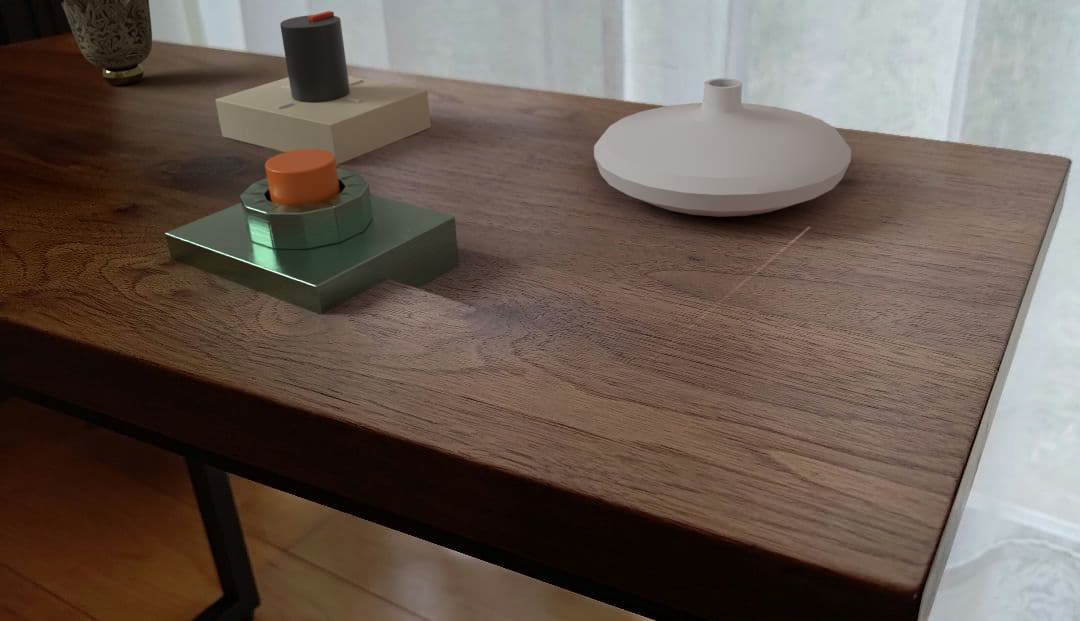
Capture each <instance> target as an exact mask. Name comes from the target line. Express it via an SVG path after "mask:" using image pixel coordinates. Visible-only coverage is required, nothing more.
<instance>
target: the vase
mask: <svg viewBox="0 0 1080 621" xmlns="http://www.w3.org/2000/svg"><path fill="white" fill-rule="evenodd" d="M742 84H743V82H741V81H740V80H738V79H734V78H728V77H727V78H724V77H722V78H721V77H719V78H711V79H708V80H706V81H705V82H704V84H703V96H702V99H703V100H702V102H693V103H692V102H691V103H684V104H683V103H682V104H675V105H674V104H673V105H665V106H660V107H656V108H651V109H646V110H642V111H638V112H636V113H633V114H630V115H628V116H625V117H622V118H621V119H619V120H617V121H616V122H614V123H612V124H611V125H609V126H608V128H607V129H606V130H605V131H604V133H602V135H601V136H600V138H599V139H598V140H597V142H596V143H595V144H594V145H593V157H594V160H595V163H596V166H597V169H598V171H599V174H600V176H601V177H602V178H603V179H604V180H605V181H606V183H607V184H608V185H609V186H610V187H612V188H614V189H615V190H618V191H619V192H621V193H623V194H625V195H627V196H629V197H631V198H634V199H637V200H640V201H642V202H644V203H647V204H649V205H653V206H654V207H658V208H661V209H665V210H668V211H671V212H676V213H681V214H686V215H692V216H702V217H703V216H704V217H717V218H720V217H721V218H722V217H746V216H747V217H748V216H753V215H760V214H762V215H763V214H767V213H771V212H775V211H779V210H782V209H786V208H789V207H791V206H792V207H793V206H795V205H798V204H801V203H804V202H808V201H811V200H814V199H816V198H818V197H819V196H822V195H824V194H826V193H827V192H830V191H831V190H833V189H834V188H835V187H836V186H837V185H838V184H839V183H840V182H841V181H842V179H843V178H844V176H845V174H846V173H847V170H848V168H849V166H850V164H851V160H852V149H851V147H850V146H849V145H848V143H847V142H846V140H845V139H844V138H843V137H842V135H841V134H840V133H839V131H838V130H837V129H836V127H834V126H833V125H831V124H830V123H828V122H826V121H824V120H822V119H821V118H819V117H815V116H812V115H809V114H807V113H803V112H801V111H796V110H792V109H787V108H782V107H777V106H771V105H762V104H755V103H743V102H742V86H743V85H742Z"/></svg>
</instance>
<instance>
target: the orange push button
mask: <svg viewBox="0 0 1080 621" xmlns="http://www.w3.org/2000/svg"><path fill="white" fill-rule="evenodd" d="M264 168H265V174H266V178H267V180H268V186H269V191H270V197H271V201H272V202H274V203H278V204H281V205H303V204H308V203H314V202H319V201H324V200H326V199H328V198H331V197H333V196H335V195H338V194H339V193H340V188H339V181H338V174H337V169H338V168H337V165H336V161H335V156H334V155H333V154H332V153H331V152H328V151H324V150H317V149H303V150H295V151H289V152H283V153H282V152H281V153H279V154H276V155H274V156H272V157H270V158H268V159H267V160H266V162H265V163H264Z"/></svg>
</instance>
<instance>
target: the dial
mask: <svg viewBox="0 0 1080 621" xmlns="http://www.w3.org/2000/svg"><path fill="white" fill-rule="evenodd" d="M279 25H280V26H279V27H280V31H281V32H280V33H281V37H282V44H283V50H284V57H285V63H286V69H287V75H288V76H287V77H289V82H290V89H291V95H292V98H293V99H295V100H298V101H303V102H321V101H329V100H334V99H338V98H341V97H344V96H346V95H347V94H349V92H350V88H349V81H348V76H349V74H348V67H347V66H348V65H347V58H346V51H345V44H344V36H343V29H342V21H341V18H340V17H339V16H336V15H335V12H334V11H331V10H328V11H324V12H319V13H316V14H310V15H301V16H295V17H291V18H287V19H284V20H282V21H281V22H280V24H279Z"/></svg>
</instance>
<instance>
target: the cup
mask: <svg viewBox="0 0 1080 621" xmlns="http://www.w3.org/2000/svg"><path fill="white" fill-rule="evenodd" d="M61 6H62V9H63V10H64V13H65V16H66V19H67V20H68V24H69V26H70V29H71V32H72V35H73V37H74V39H75V42H76V44H77V46H78V48H79V50H80V52H81V54H82V55H83V57H84V58H85V59H86V60H87V61H88V62H89V63H90V64H92V65H93V66H95V67H97V68H100V69H102V73H101V74H102V75H101V76H102V79H103V80H104V81H105V83H107V84H109V85H112V86H127V85H133V84H135V83H136V84H137V83H138V82H140V81H141V80H142V79H143V78H144V74H145V70H144V68H143V66H142V65H141V63H143V62H144V61H146V60H147V58H148V57H149V55H150V53H151V51H152V46H153V29H152V18H151V8H150V0H63V1H61Z"/></svg>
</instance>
